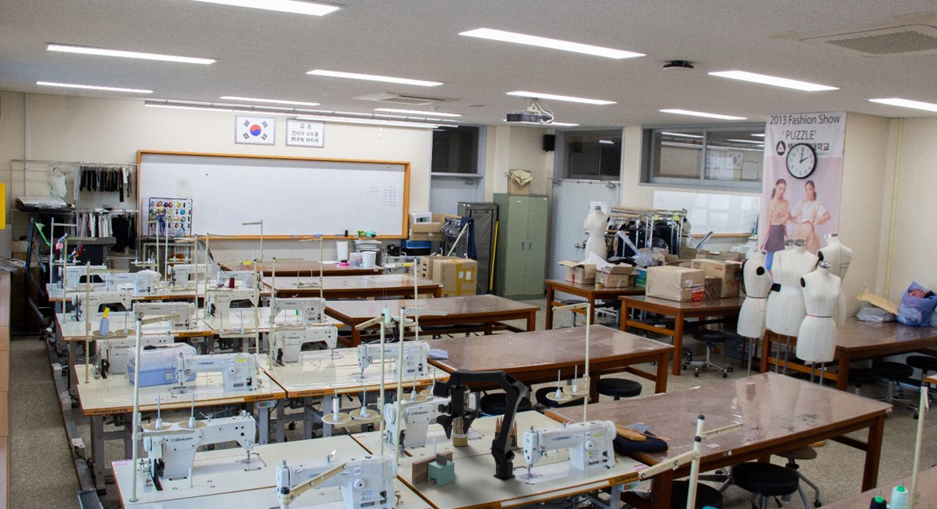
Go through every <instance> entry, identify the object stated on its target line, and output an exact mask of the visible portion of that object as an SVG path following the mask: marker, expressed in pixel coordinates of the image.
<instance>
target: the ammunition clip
mask: <svg viewBox="0 0 937 509" xmlns="http://www.w3.org/2000/svg"><path fill="white" fill-rule="evenodd" d="M495 421H496V424H495V431H494V439H495V438H496V437H497V436H499V433H500V429H501V426H502V422H503V417H500V419H499V416H497V418H496V420H495ZM517 426H518V425H517V420H516V419H514V422H513V426H512V430H511V434H510V442H511V444H510V447H513V448H517V447H518V433H517V432H518V428H517Z"/></svg>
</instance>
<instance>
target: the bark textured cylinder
mask: <svg viewBox="0 0 937 509" xmlns="http://www.w3.org/2000/svg"><path fill="white" fill-rule="evenodd" d="M465 403H467V405H466V406H464V409H466V408H470V390H468V391H467V392H466V391H465ZM452 425H453V428H452V444H453V446H456V447H465V446H467V445H468V440H469V430H468V431H467V433H466V434H463V420H462V418H459V419H455V420H453V423H452Z"/></svg>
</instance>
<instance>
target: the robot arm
mask: <svg viewBox="0 0 937 509" xmlns="http://www.w3.org/2000/svg"><path fill="white" fill-rule="evenodd" d="M480 382H482V383H483V382H486V383H487V382H497V383H498V385H499V386H500V387H501V389H502V390H503V392H505V394H506V395H505V400H506V407H505V411H504V415H503V417H502V426H501V429H500V433H499V436H497V437H496V438H495V437H494V438H493V439H492V442H491V446H490V448H489V450H491V451H490V453H491V455H492V456H491V457H493V459H494V463H495V473H494V474H493V477H495V478H498V479H500V480H503V481H507V480H511V479H513V478H515V477H516V475H515V474H513V473H514V462H513V460H515V458H516V454H515V453H514V451H513V450H512V449H511V446H510V444H511V442H510V434H511V430H512V426H513V427H514V422H515V418H516V414H517V411H518V406H519V404H520V402H521V401H522V399H523V397H524V395H525V393H526V386H525V384H524V383H523V382H522V381H519V380H518V379H517V378H515V377H514V376H512V375H510V374H508V372H506V370H504V369H500V370H479V371H476V370H475V371H473V370H470V369H467V368H457V369H456V370H454V371H453V372H451V373H450V375H449V378H448V380H447V381H442V380H439V379H438V380H435V382H434V383H435V384H434V386H433V389H432V395H433V397H436V398H441V399H448V398H449V397H450V401H448V402H447V404H444V403H439V404H438V405H437V410H438V413H441V414H440V415H437V417H436V420H435V422H436V423H437V424H438V425H441V426H442V427H443V430H444V433H445V436H446V439H447V440H451V437H452V433H453V420H455V419H459V418H462V420H463V434H466V433H467V431H468V432H469V429H470V427H471V426H472V424H473V422H474V421H475V420H476V418H478V416H479V415H478V411H477V409H473V408H471V407H469V408H466V409H464V406H466V405H467V403H465V391H466V392H467V391H468V390H469V391H470V390H471V387H470V386H468V385H467V384H469V383H480ZM446 414H447V415H446Z"/></svg>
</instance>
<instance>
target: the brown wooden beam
mask: <svg viewBox="0 0 937 509" xmlns="http://www.w3.org/2000/svg"><path fill="white" fill-rule="evenodd" d="M439 453H440V452H439ZM440 454H443V455H445V456H447V460H448V461H450V462H453V451H451V450H446V451H444V452H441V453H440ZM434 461H436V454H435V455H431V456H429V457H425V458H423V459H420V460H416V461H413V462H412V464H411V483H413V484H418V482H419V483H421V482H424V481H426V485H427V486H431V485H433V484H437V479H432V480H429V481H428V463H431V462H434ZM455 474H456V473H455V472H454V477H455ZM430 484H431V485H430Z"/></svg>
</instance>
